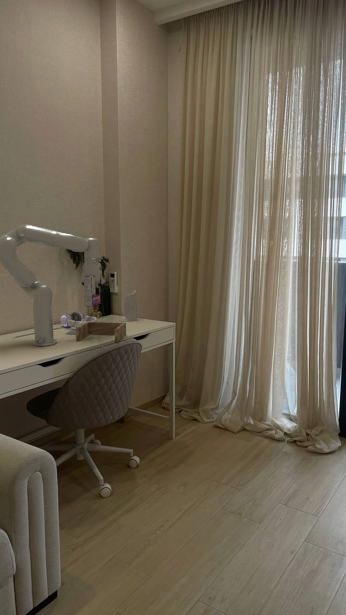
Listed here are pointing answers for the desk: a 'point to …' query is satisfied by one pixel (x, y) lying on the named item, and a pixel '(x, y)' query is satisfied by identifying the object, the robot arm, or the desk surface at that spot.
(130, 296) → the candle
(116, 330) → the brown bent panel
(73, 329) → the felt mat
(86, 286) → the candy bar box
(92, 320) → the headphones
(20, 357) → the desk surface
